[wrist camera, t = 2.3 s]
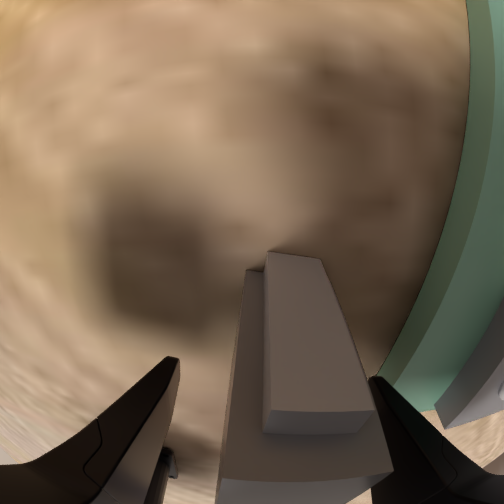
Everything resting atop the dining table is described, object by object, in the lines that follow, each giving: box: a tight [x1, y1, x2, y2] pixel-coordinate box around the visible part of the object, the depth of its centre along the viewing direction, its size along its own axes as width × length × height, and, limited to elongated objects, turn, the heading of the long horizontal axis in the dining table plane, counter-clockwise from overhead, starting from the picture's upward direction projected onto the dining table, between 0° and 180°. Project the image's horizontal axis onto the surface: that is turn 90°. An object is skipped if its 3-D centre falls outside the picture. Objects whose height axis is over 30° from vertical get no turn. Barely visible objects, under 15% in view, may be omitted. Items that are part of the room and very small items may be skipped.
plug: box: [215, 251, 394, 504], centre depth 8 cm, size 7×3×7 cm, turn 172°
